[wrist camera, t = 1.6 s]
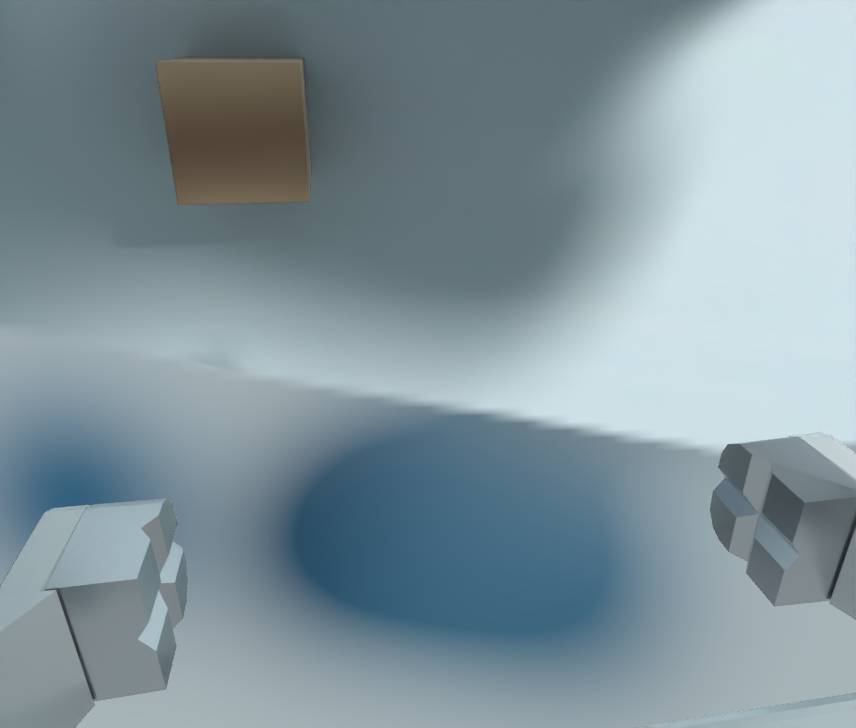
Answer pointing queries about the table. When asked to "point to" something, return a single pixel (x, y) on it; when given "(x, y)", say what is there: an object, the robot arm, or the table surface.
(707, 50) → the table surface
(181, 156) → the walnut block
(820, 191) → the table surface
